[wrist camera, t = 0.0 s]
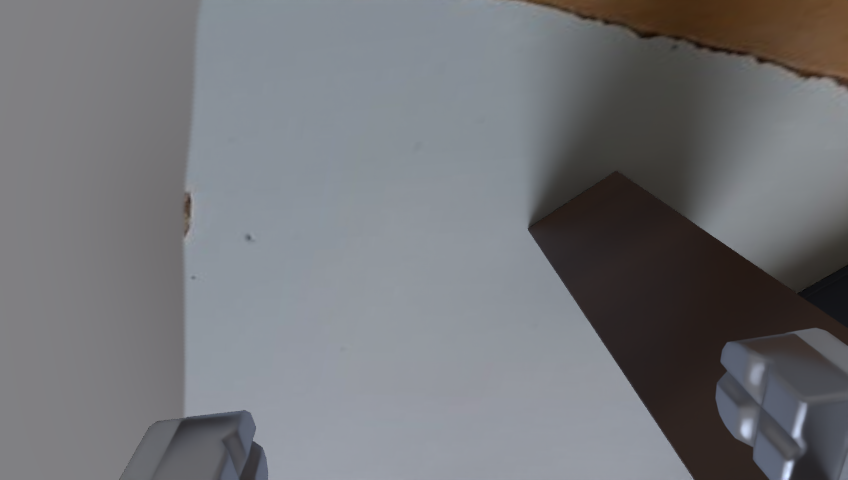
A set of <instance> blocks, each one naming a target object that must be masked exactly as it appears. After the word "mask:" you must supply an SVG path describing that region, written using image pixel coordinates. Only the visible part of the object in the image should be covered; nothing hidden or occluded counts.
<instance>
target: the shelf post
mask: <svg viewBox="0 0 848 480" xmlns="http://www.w3.org/2000/svg"><path fill="white" fill-rule="evenodd" d="M528 231H529V232H530V234H531V235H532V237H533V238H534V240H535V241H536V243H537V244H538V246H539V247H540V249H541V250H542V252H543V253H544V255H545V256H546V258H547V259H548V261H549V262H550V264H551V265H552V267H553V268H554V270H555V271H556V273H557V274H558V276H559V277H560V279H561V280H562V282H563V283H564V285H565V286H566V288H567V289H568V291H569V292H570V294H571V295H572V297H573V298H574V300H575V301H576V303H577V304H578V306H579V307H580V309H581V310H582V312H583V313H584V315H585V316H586V318H587V319H588V321H589V322H590V324H591V325H592V327H593V328H594V330H595V331H596V333H597V334H598V336H599V337H600V339H601V340H602V342H603V343H604V345H605V346H606V348H607V349H608V351H609V352H610V354H611V355H612V357H613V358H614V360H615V361H616V363H617V364H618V366H619V367H620V369H621V370H622V372H623V373H624V375H625V376H626V378H627V379H628V381H629V382H630V384H631V385H632V387H633V388H634V390H635V391H636V393H637V395H638V396H639V398H640V399H641V401H642V402H643V404H644V405H645V407H646V408H647V410H648V411H649V413H650V414H651V416H652V417H653V419H654V420H655V422H656V423H657V425H658V426H659V428H660V429H661V431H662V432H663V434H664V435H665V437H666V438H667V440H668V441H669V443H670V444H671V446H672V447H673V449H674V450H675V452H676V453H677V455H678V456H679V458H680V459H681V461H682V462H683V464H684V465H685V467H686V468H687V470H688V471H689V473H690V474H691V476H692V477H693V479H694V480H769V478H768V477H767V476H766V475H765V474H764V472H763V471H762V470H761V469H760V468H759V466H758V465H757V464H756V463H755V462H754V460H753V447H751V446H750V445H748V444H746V443H744V442H742V441H740V440H738V439H736V438H735V437H734V436H733V435H732V434H731V432H730V431H729V430H728V429H727V427H726V426H725V424H724V422H723V420H722V418H721V416H720V414H719V411H718V407H717V403H716V388H717V382H718V381H719V380H720V379H721V378H722V376H723V375H724V374H725V373H726V372H727V370H726V368H725V367H724V366H723V365H722V363H721V362H720V360H721V354H722V349H723V348H724V346H725V345H726V343H727V342H731V341H738V340H745V339H751V338H758V337H765V336H772V335H778V334H785V333H787V332H793V331H799V330H805V329H811V328H818V329H822V330H825V331H827V332H829V333H830V334H832V335H833V336H834V337H836V338H837V339H839V340H840V341H841V342H843V343H844V344H846V345H847V346H848V328H846V327H845V326H844V325H842V324H841V323H839V322H838V321H836V320H835V319H833V318H832V317H830V316H829V315H827V314H826V313H825V312H823V311H822V310H820V309H819V308H817V307H816V306H814V305H813V304H811V303H810V302H808V301H807V300H805V299H804V298H803V297H801V296H800V295H798V294H797V293H795V292H794V291H792V290H791V289H789V288H788V287H786V286H785V285H784V284H782V283H781V282H779V281H778V280H776V279H775V278H773V277H772V276H770V275H769V274H767V273H766V272H764V271H763V270H762V269H760V268H759V267H757V266H756V265H754V264H753V263H751V262H750V261H748V260H747V259H745V258H744V257H743V256H741V255H740V254H738V253H737V252H735V251H734V250H732V249H731V248H729V247H728V246H726V245H725V244H723V243H722V242H721V241H719V240H718V239H716V238H715V237H713V236H712V235H710V234H709V233H707V232H706V231H704V230H703V229H702V228H700V227H699V226H697V225H696V224H694V223H693V222H691V221H690V220H688V219H687V218H685V217H684V216H682V215H681V214H680V213H678V212H677V211H675V210H674V209H672V208H671V207H669V206H668V205H666V204H665V203H663V202H662V201H661V200H659V199H658V198H656V197H655V196H653V195H652V194H650V193H649V192H647V191H646V190H644V189H643V188H641V187H640V186H639V185H637V184H636V183H634V182H633V181H631V180H630V179H628V178H627V177H625V176H624V175H622V174H621V173H619V172H618V171H615V172H614V173H612V174H611V175H609V176H608V177H606V178H605V179H603V180H602V181H600V182H598V183H597V184H595V185H594V186H592V187H591V188H589V189H588V190H586V191H585V192H583V193H582V194H580V195H579V196H577V197H576V198H574V199H572V200H571V201H569V202H568V203H566V204H565V205H563V206H562V207H560V208H559V209H557V210H556V211H554V212H553V213H551V214H550V215H548V216H546V217H545V218H543V219H542V220H540V221H539V222H537V223H536V224H534V225H533V226H531V227H530V228H528Z"/></svg>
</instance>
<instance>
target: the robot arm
mask: <svg viewBox="0 0 848 480" xmlns="http://www.w3.org/2000/svg"><path fill="white" fill-rule="evenodd" d="M720 362H721V363H722V365H723V366H724V367H725V368H726V370H727V372H726V373H725V374H724V375H723V376H722V378H721V379H720V380H719V381H718V382H717V388H716V403H717V407H718V411H719V414H720V416H721V418H722V420H723V422H724V424H725V426H726V427H727V429H728V430H729V431H730V432H731V434H732V435H733V436H734V437H735V438H736V439H738V440H740V441H742V442H744V443H746V444H748V445H750V446H751V447H753V460H754V462H755V463H756V464H757V465H758V466H759V468H760V469H761V470H762V471H763V472H764V474H765V475H766V476H767V477H768V478H769V480H848V346H847V345H846V344H844V343H843V342H841V341H840V340H839V339H837V338H836V337H834V336H833V335H832V334H830V333H829V332H827V331H825V330H822V329H818V328H811V329H805V330H799V331H793V332H787V333H785V334H778V335H772V336H765V337H758V338H751V339H745V340H738V341H731V342H727V343H726V345H725V346H724V348H723V349H722V354H721V360H720ZM255 430H256V426H255V423H254V421H253V418H252V415H251V413H250V412H248V411H246V410H243V411H235V412H227V413H218V414H210V415H201V416H193V417H187V418H180V419H173V420H164V421H157V422H156V423H154V424H153V425H151V426H150V427H149V428H148V430H147V432H146V433H145V435H144V437H143V439H142V441H141V442H140V444H139V446H138V447H137V449H136V451H135V453H134V454H133V456H132V458H131V460H130V462H129V463H128V465H127V467H126V469H125V471H124V472H123V474H122V476H121V478H120V479H119V480H268V468H267V461H266V457H265V453H264V450H263V448H262V447H261V446H260V445H258V444H257V443H255V442H254V441H253V437H254V434H255Z"/></svg>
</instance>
